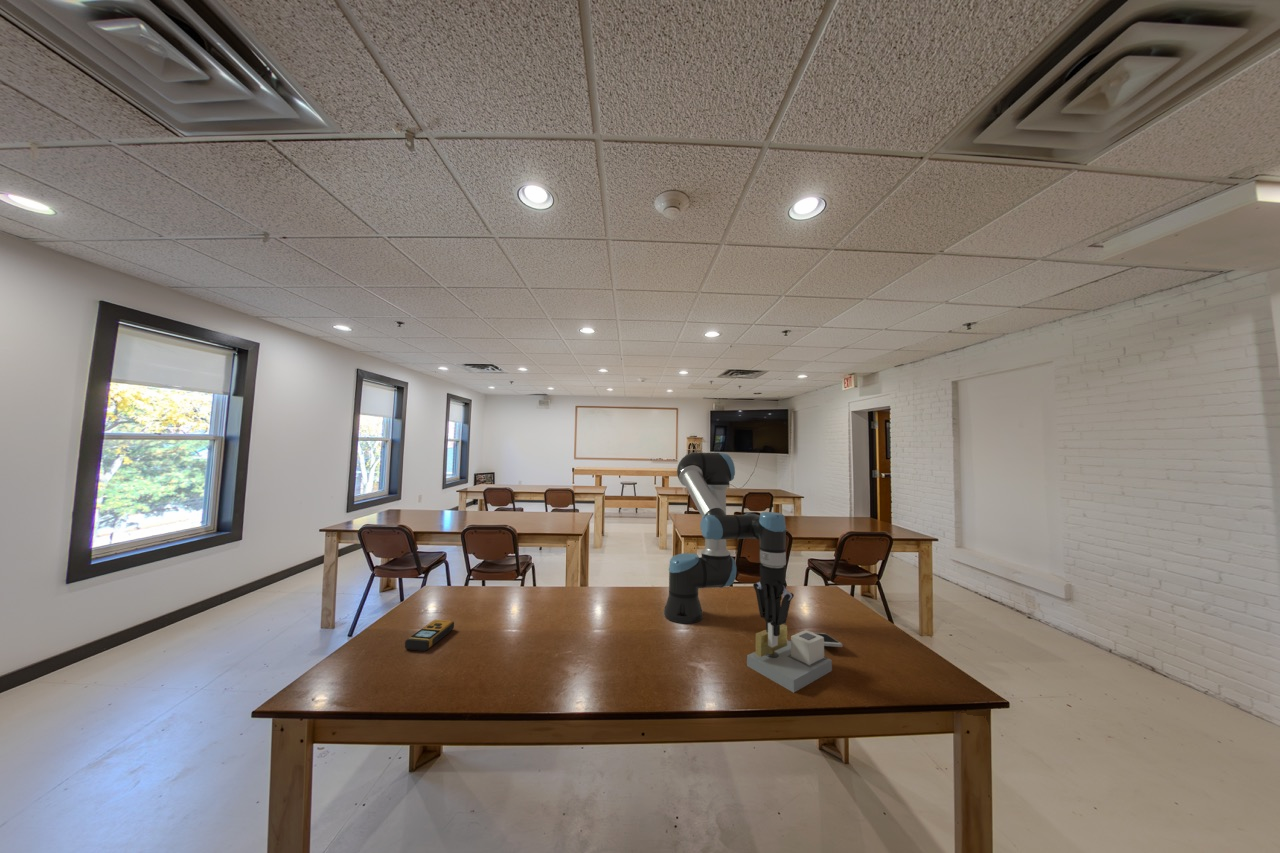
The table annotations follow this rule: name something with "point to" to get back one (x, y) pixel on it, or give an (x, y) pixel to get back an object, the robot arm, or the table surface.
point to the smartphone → (829, 640)
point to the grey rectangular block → (807, 647)
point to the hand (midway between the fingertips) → (772, 645)
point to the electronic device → (429, 635)
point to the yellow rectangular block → (762, 642)
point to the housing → (788, 668)
